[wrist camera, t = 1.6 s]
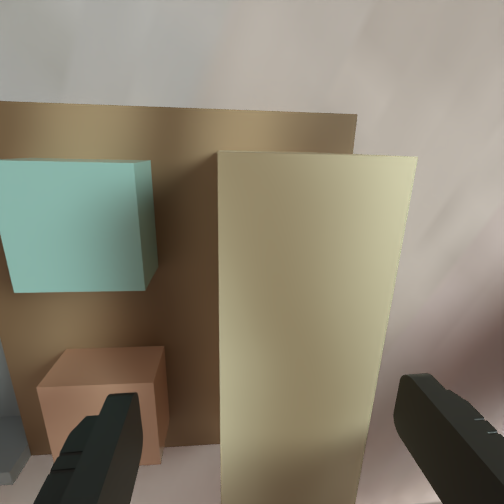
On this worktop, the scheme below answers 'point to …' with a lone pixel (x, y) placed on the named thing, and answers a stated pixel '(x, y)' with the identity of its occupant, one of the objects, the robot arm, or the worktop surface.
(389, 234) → the cream wooden beam
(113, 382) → the tile
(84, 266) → the tile
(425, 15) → the worktop surface
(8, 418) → the box
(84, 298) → the board
